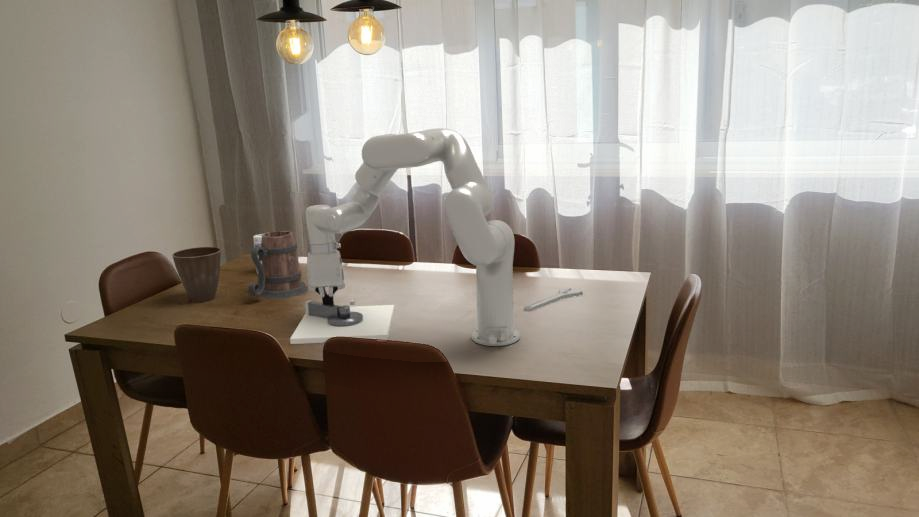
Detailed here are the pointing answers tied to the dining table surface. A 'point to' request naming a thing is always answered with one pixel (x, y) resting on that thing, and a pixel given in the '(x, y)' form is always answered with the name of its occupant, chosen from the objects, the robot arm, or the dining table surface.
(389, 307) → the dial board
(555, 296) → the adjustable wrench
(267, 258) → the tankard
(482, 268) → the robot arm
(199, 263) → the plant pot
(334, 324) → the dial
